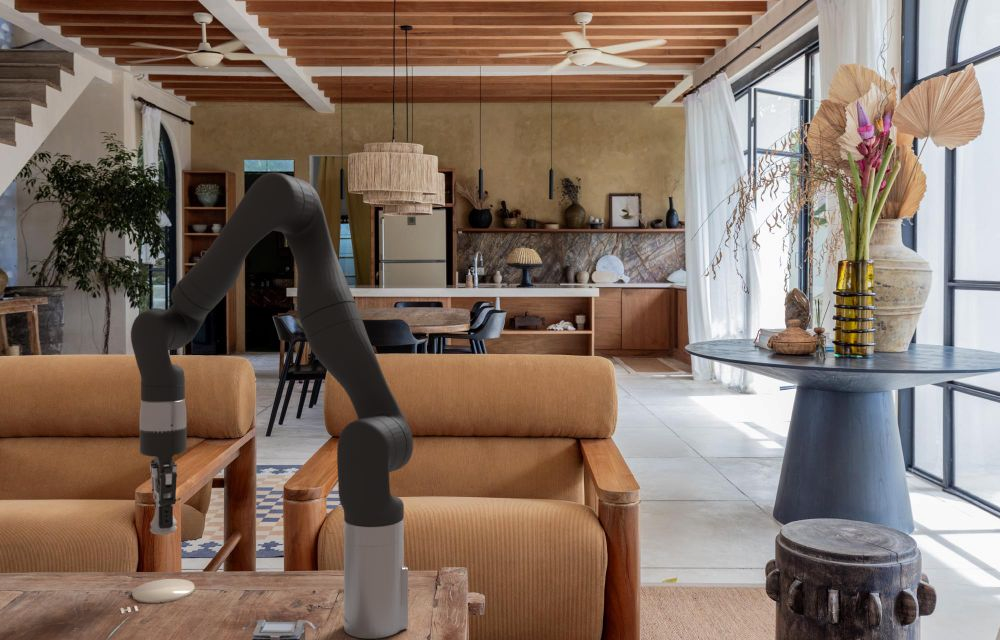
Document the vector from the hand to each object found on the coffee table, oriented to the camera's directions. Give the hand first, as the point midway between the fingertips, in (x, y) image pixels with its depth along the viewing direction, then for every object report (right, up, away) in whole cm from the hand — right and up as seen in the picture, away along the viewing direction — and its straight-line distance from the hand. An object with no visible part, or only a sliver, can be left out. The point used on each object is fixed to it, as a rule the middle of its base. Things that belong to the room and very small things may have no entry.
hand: (163, 523), depth 149 cm
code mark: (-3, -12, -8) cm, 15 cm away
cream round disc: (0, -12, 0) cm, 12 cm away
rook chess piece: (0, -2, 0) cm, 2 cm away
